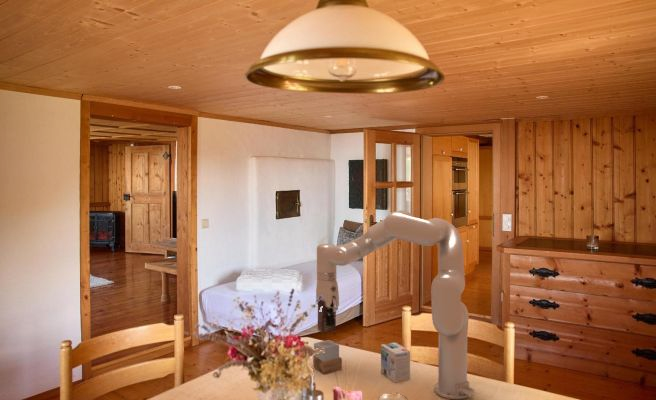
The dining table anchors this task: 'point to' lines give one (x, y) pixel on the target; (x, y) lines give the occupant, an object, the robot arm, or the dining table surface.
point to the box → (324, 318)
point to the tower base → (327, 365)
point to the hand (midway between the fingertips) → (326, 322)
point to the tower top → (327, 350)
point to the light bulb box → (395, 362)
